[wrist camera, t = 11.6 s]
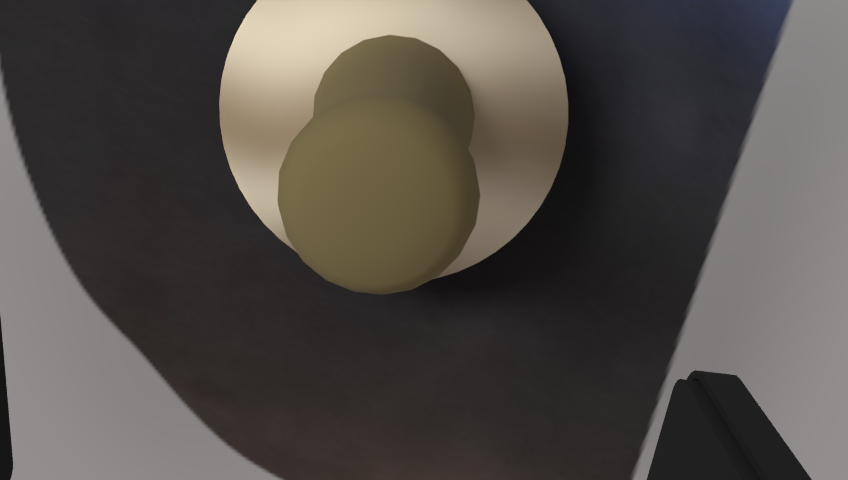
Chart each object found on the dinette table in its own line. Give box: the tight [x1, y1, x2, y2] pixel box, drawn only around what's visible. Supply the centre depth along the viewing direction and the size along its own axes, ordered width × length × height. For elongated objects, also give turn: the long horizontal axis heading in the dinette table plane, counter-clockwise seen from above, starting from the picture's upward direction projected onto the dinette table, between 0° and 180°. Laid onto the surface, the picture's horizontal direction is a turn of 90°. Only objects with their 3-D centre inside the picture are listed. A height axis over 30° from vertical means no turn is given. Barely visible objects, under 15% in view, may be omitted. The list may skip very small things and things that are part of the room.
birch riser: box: [219, 0, 568, 279], centre depth 30 cm, size 13×13×4 cm
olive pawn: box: [278, 35, 480, 295], centre depth 23 cm, size 6×6×11 cm
